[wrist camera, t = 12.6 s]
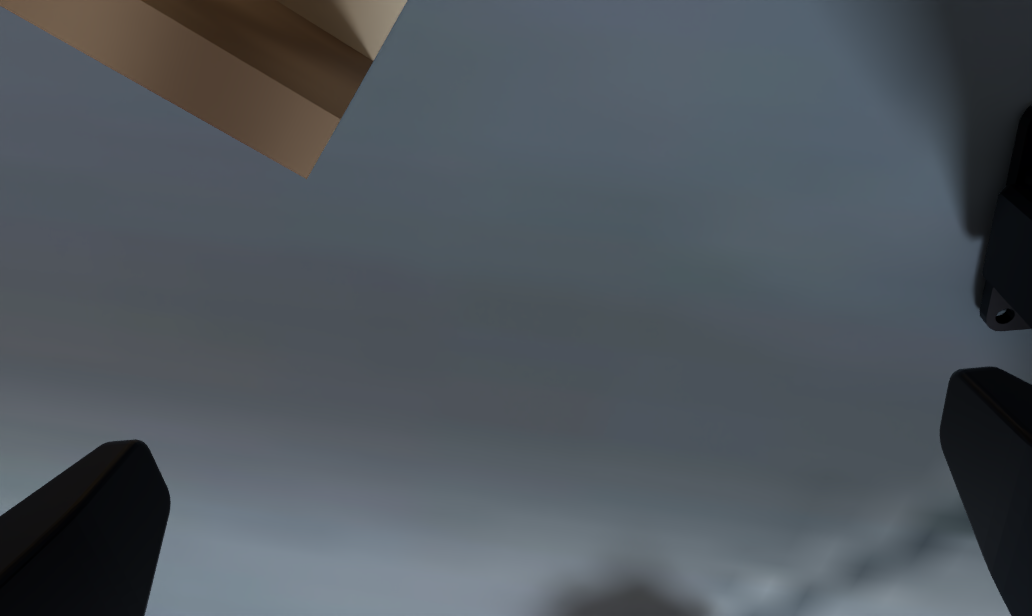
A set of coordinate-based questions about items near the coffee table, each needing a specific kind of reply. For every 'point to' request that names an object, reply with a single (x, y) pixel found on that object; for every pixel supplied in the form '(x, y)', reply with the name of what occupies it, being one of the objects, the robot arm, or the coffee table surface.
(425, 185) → the coffee table surface
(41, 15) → the brown open-ended tray
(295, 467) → the coffee table surface
